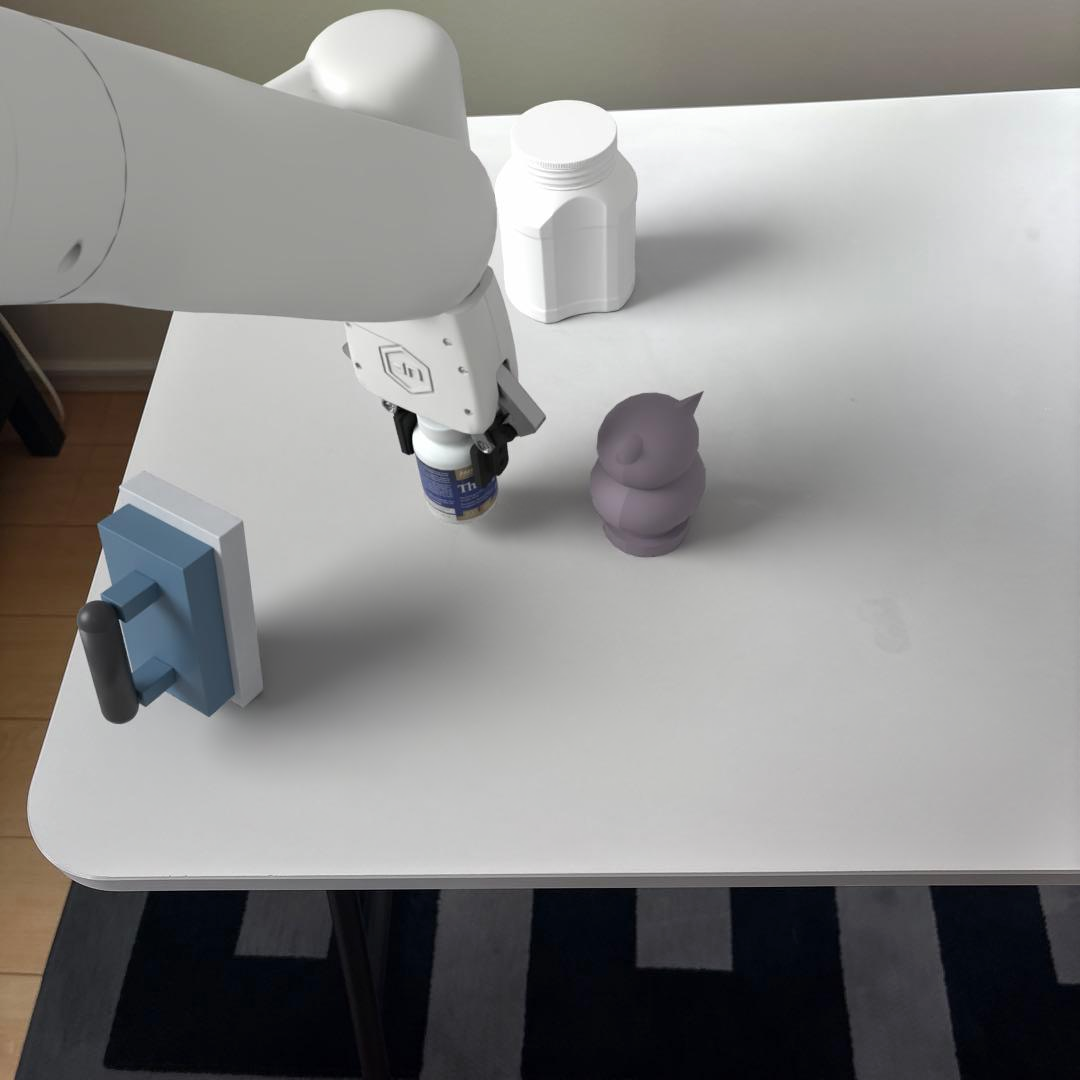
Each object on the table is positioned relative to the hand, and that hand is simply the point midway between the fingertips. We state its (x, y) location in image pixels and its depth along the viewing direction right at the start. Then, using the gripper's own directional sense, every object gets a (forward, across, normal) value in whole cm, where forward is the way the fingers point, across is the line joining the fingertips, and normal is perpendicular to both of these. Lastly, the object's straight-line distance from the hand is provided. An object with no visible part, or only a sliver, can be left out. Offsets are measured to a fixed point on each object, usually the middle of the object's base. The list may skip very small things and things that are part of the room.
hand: (454, 455), depth 74 cm
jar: (+7, -6, +26) cm, 28 cm away
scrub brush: (0, -8, -17) cm, 19 cm away
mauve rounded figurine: (+7, +12, +6) cm, 15 cm away
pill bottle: (+5, 0, 0) cm, 5 cm away
